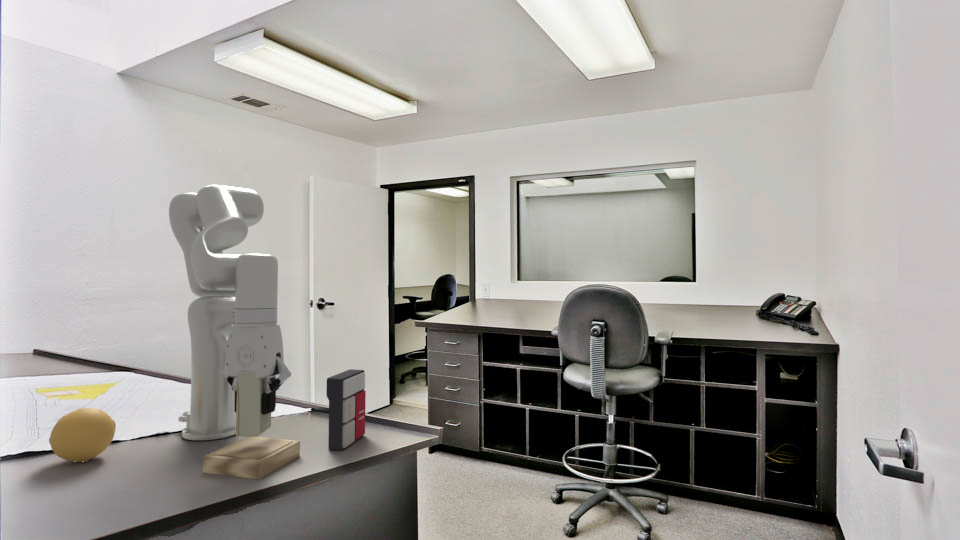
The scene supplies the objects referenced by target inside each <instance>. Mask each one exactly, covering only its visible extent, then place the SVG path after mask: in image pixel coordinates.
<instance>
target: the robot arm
mask: <svg viewBox="0 0 960 540" xmlns="http://www.w3.org/2000/svg"><path fill="white" fill-rule="evenodd" d="M264 211H265V206H264V201H263V199H262V197H261V195H260V194H259V193H258V192H257V191H255V190H254V189H250V188H243V187H235V186H228V185H219V184H210V185H206V186H204V187H202V188H200V189H199V190H198V191H197V192H185V193H179V194H177V195H175V196H174V197H173V198H171V200H170V203H169V207H168V217H169V223H170V227H171V231H172V233H173V236H174V237H175V239H176V242H177V243H178V244H179V246H180V247H181V250H182V253H183V255H184V263H185V269H186V273H187V280H188V284H189V286H190V291H191V292H192V293H193V294H194V296H197V297H198V298H196V299H194V300H193V301H192V302H191V303H189V306H188V309H187V323H188V329H189V335H190V336H189V337H190V346H191V348H190V349H191V354H190V355H191V360H190V361H191V365H190V366H191V368H190V369H191V370H190V372H191V373H190V410H189V411H186V410H185V411H184V412H183V413H182V415H180V416H179V417H178V422H180V423H185V424H186V427H185V428H183V429H182V432H181V437H182V438H183V439H184V440H189V441H212V440H218V439H224V438H229V437H231V436H236V405H237V372H253V373H256V377H257V378H260V379H262V383H263V387H264V391H265V393H263V394H262V404H261V413H262V414H263V415H266V414H268V413H271V414H272V413H273V412H275V410H276V406H277V403H276V401H277V396H276V395H277V391H279V390H280V387H281V386H282V385H283V384H284V383H285V382H286V381H287V380H288V379H289V378H290V377H291V376H292V372H291V371H290V370H289V368H288V367H287V366H286V364H285V363H284V345H283V343H284V342H283V335H282V328H281V325H280V324H278V294H279V293H278V289H279V288H278V284H279V280H278V279H279V278H278V277H279V276H278V275H279V264H278V263H279V262H278V258H277V257H276V256H275V255H272V254H268V253H267V254H266V253H243V254H240V253H239V254H238V253H237V254H235V253H224V251H226V250H229V249H232V248H234V247H236V246H238V245H240V244H242V242H244V241H245V239H246V238H247V236H248V234H249V228H250V227H253V226H255V225H256V224H258V223H259V222H260V221H261V219H262V218H263V216H264ZM269 379H270V381H269ZM270 382H271V384H270Z"/></svg>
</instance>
